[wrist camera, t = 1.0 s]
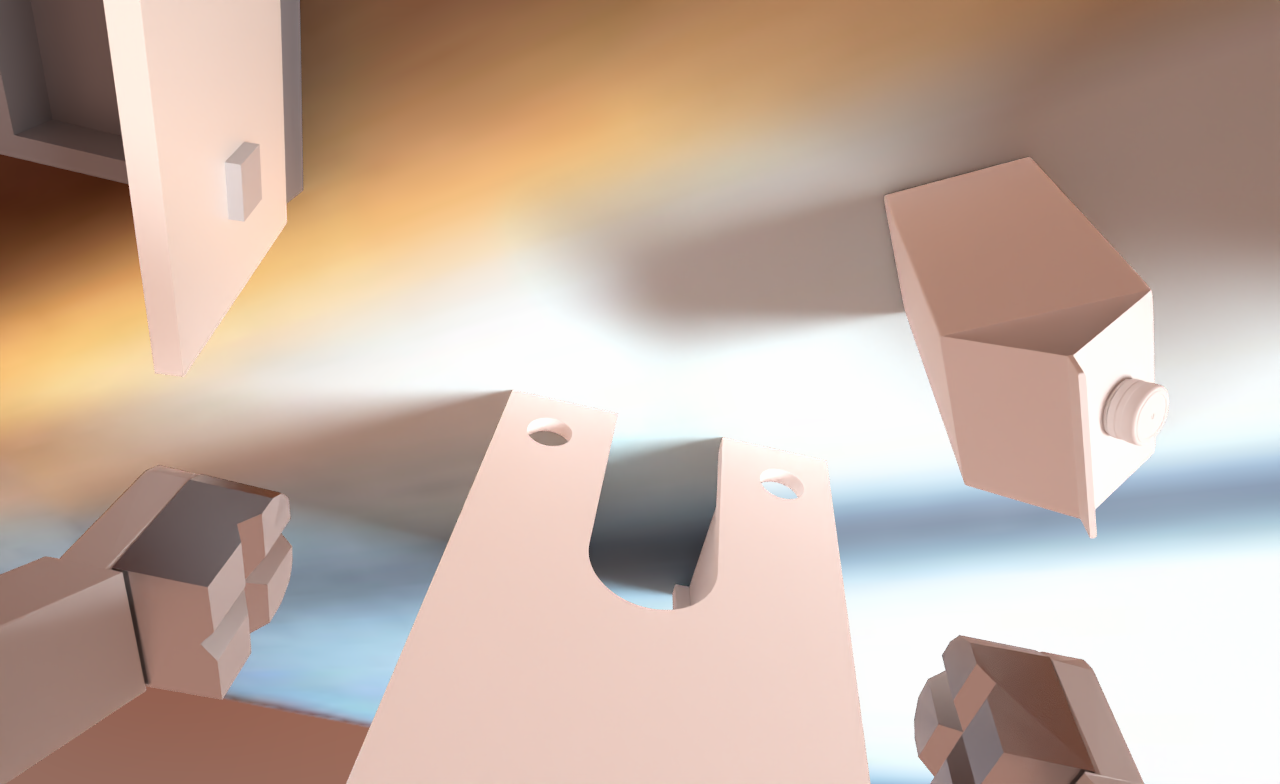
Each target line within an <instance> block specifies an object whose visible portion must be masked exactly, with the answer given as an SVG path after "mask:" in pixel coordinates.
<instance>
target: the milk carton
mask: <svg viewBox="0 0 1280 784" xmlns="http://www.w3.org/2000/svg"><path fill="white" fill-rule="evenodd" d="M884 203H885V209H886V214H887V219H888V225H889V230H890V235H891V241H892V246H893V251H894V257H895V262H896V267H897V273H898V278H899V283H900V289H901V294H902V299H903V305H904V309H905V313H906V316H907V319H908V322H909V324H910V327H911V330H912V333H913V336H914V339H915V342H916V345H917V348H918V350H919V353H920V356H921V359H922V362H923V365H924V368H925V371H926V373H927V376H928V379H929V382H930V385H931V388H932V391H933V394H934V397H935V399H936V402H937V405H938V408H939V411H940V414H941V417H942V420H943V423H944V425H945V428H946V431H947V434H948V437H949V440H950V443H951V446H952V449H953V451H954V454H955V457H956V460H957V463H958V466H959V469H960V472H961V475H962V477H963V480H964V483H965V485H967V486H971V487H974V488H977V489H981V490H984V491H988V492H991V493H994V494H998V495H1001V496H1005V497H1008V498H1011V499H1015V500H1018V501H1022V502H1025V503H1028V504H1032V505H1035V506H1039V507H1042V508H1045V509H1049V510H1052V511H1056V512H1059V513H1063V514H1066V515H1069V516H1073V517H1076V518H1080V519H1081V521H1082V523H1083V525H1084V527H1085V529H1086V531H1087V533H1088V535H1089V537H1090V538H1095V537H1096V536H1097V531H1096V517H1095V509H1096V508H1097V507H1098V506H1099V505H1100V504H1101V503H1102V502H1103V501H1104V500H1105V499H1106V498H1107V497H1108V496H1110V495H1111V494H1112V493H1113V492H1114V491H1115V490H1116V489H1117V488H1118V487H1119V486H1120V485H1121V484H1122V483H1123V482H1124V481H1125V480H1126V479H1127V478H1128V477H1129V476H1130V475H1132V474H1133V473H1134V472H1135V471H1136V470H1137V469H1138V468H1139V467H1140V466H1141V465H1142V464H1143V463H1144V462H1145V461H1146V460H1147V459H1148V458H1149V457H1150V456H1151V455H1152V454H1153V453H1154V451H1155V437H1156V435H1157V434H1158V433H1159V431H1160V430H1161V428H1162V427H1163V425H1164V423H1165V420H1166V417H1167V413H1168V408H1169V395H1168V392H1167V390H1166V388H1165V387H1164V386H1162V385H1158V384H1155V372H1154V319H1153V297H1152V291H1151V289H1150V288H1149V286H1148V285H1147V284H1146V283H1145V281H1144V280H1143V279H1142V278H1141V277H1140V276H1139V275H1138V274H1137V272H1136V271H1135V270H1134V269H1133V268H1132V267H1131V266H1130V265H1129V264H1128V263H1127V262H1126V260H1125V259H1124V258H1123V257H1122V256H1121V255H1120V254H1119V253H1118V252H1117V251H1116V250H1115V249H1114V247H1113V246H1112V245H1111V244H1110V243H1109V242H1108V241H1107V240H1106V239H1105V238H1104V237H1103V235H1102V234H1101V233H1100V232H1099V231H1098V230H1097V229H1096V228H1095V227H1094V226H1093V225H1092V223H1091V222H1090V221H1089V220H1088V219H1087V218H1086V217H1085V216H1084V215H1083V214H1082V213H1081V211H1080V210H1079V209H1078V208H1077V207H1076V206H1075V205H1074V204H1073V203H1072V202H1071V201H1070V200H1069V198H1068V197H1067V196H1066V195H1065V194H1064V193H1063V192H1062V191H1061V190H1060V189H1059V188H1058V186H1057V185H1056V184H1055V183H1054V182H1053V181H1052V180H1051V179H1050V178H1049V177H1048V176H1047V174H1046V173H1045V172H1044V171H1043V170H1042V169H1041V168H1040V167H1039V166H1038V165H1037V164H1036V162H1035V161H1034V160H1033V159H1032V158H1031V157H1026V158H1022V159H1018V160H1014V161H1011V162H1007V163H1003V164H999V165H996V166H992V167H988V168H985V169H981V170H977V171H973V172H970V173H966V174H962V175H958V176H955V177H951V178H947V179H943V180H940V181H936V182H932V183H928V184H925V185H921V186H917V187H914V188H910V189H906V190H902V191H899V192H895V193H891V194H887V195H885V196H884Z"/></svg>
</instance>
